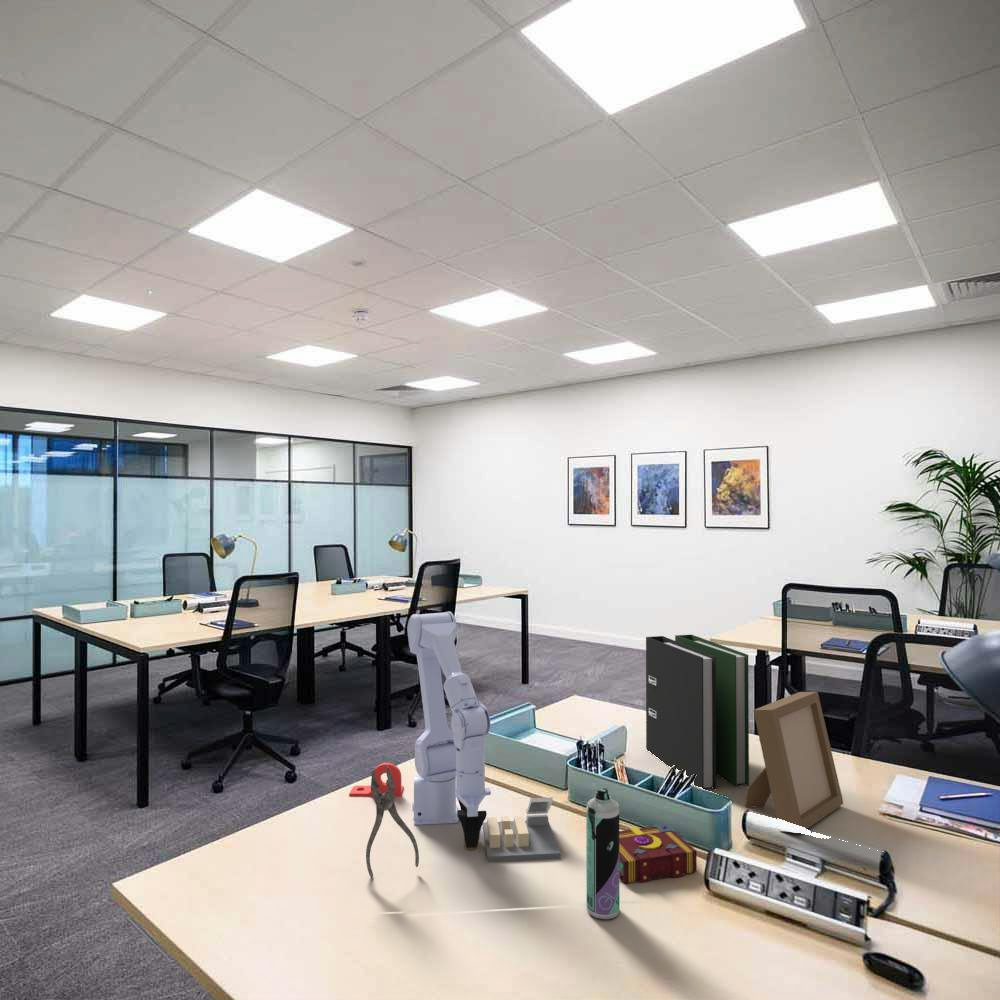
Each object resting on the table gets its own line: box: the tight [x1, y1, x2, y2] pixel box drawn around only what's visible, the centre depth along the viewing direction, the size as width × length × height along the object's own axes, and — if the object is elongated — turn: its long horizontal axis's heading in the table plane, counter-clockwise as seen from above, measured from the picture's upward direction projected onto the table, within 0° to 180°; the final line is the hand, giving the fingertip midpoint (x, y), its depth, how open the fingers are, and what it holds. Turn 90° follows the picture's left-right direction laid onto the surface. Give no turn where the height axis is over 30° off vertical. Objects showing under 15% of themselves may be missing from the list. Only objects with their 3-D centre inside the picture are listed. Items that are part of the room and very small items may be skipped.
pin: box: [463, 838, 478, 851], centre depth 133 cm, size 3×3×6 cm
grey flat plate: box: [526, 796, 554, 815], centre depth 139 cm, size 4×8×1 cm
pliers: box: [365, 766, 420, 879], centre depth 123 cm, size 10×1×20 cm, turn 101°
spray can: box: [585, 788, 620, 920], centre depth 113 cm, size 6×6×20 cm
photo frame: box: [744, 691, 844, 829], centre depth 150 cm, size 15×22×25 cm
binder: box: [645, 634, 750, 791], centre depth 174 cm, size 27×15×32 cm, turn 15°
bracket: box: [348, 762, 405, 798], centre depth 158 cm, size 12×4×8 cm, turn 89°
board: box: [481, 814, 561, 863], centre depth 135 cm, size 14×14×4 cm
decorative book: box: [619, 822, 698, 884], centre depth 127 cm, size 11×16×5 cm
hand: (470, 837), depth 133 cm, fingers open, 7 cm apart
